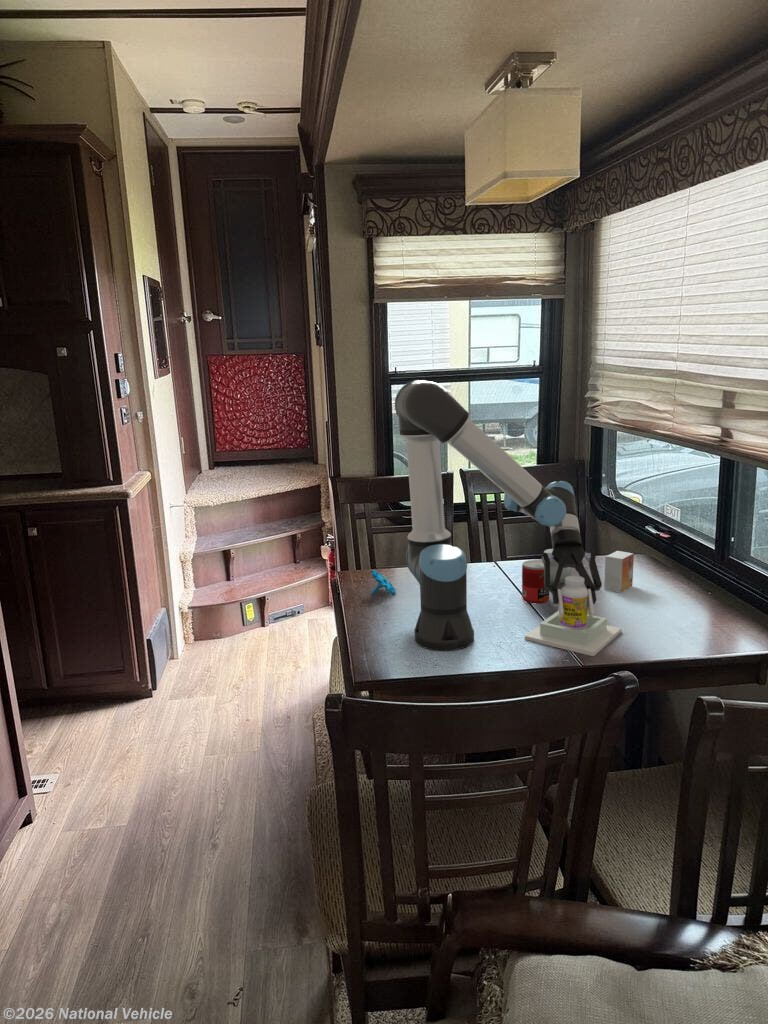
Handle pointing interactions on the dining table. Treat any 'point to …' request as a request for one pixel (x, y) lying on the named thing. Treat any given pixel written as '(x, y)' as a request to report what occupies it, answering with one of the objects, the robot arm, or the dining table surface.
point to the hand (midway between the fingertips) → (576, 615)
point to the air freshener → (554, 568)
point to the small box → (618, 571)
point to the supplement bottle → (574, 603)
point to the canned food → (533, 582)
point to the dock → (575, 635)
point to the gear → (382, 583)
